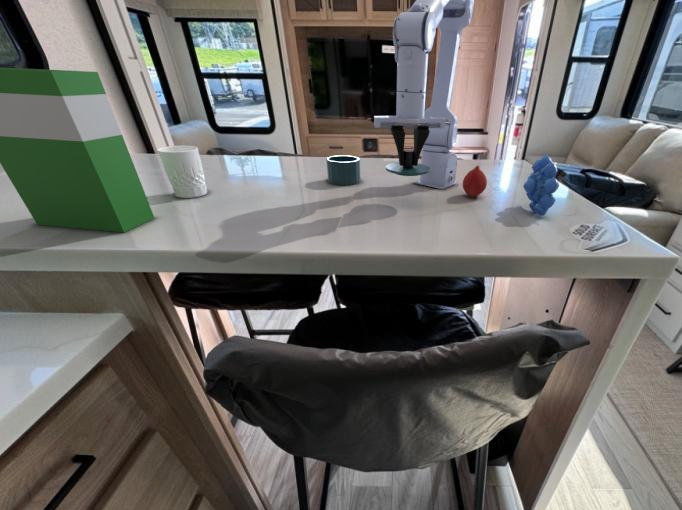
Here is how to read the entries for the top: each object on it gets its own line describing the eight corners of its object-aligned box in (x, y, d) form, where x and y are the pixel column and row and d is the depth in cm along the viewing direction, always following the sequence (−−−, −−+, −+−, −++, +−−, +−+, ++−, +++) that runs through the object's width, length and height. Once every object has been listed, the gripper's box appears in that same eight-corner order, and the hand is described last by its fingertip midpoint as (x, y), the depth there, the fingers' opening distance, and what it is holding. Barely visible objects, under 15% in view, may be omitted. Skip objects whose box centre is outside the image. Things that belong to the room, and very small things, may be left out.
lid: (428, 168, 78) (430, 147, 76) (431, 179, 70) (433, 156, 67) (386, 166, 78) (387, 145, 76) (384, 177, 70) (384, 154, 67)
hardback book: (37, 224, 62) (-58, 66, 48) (74, 211, 68) (-1, 67, 54) (124, 232, 60) (51, 71, 47) (154, 218, 66) (97, 71, 53)
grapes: (508, 203, 82) (519, 151, 75) (534, 204, 82) (548, 151, 76) (526, 221, 72) (541, 162, 65) (556, 221, 73) (574, 163, 66)
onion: (456, 196, 86) (460, 163, 81) (474, 194, 88) (479, 161, 83) (469, 203, 81) (474, 168, 77) (488, 200, 83) (494, 167, 79)
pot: (362, 177, 98) (361, 156, 94) (357, 186, 90) (357, 162, 87) (331, 176, 98) (330, 154, 94) (325, 184, 90) (323, 161, 87)
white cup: (164, 196, 78) (148, 149, 72) (193, 187, 84) (180, 144, 78) (189, 201, 75) (174, 153, 70) (217, 192, 82) (205, 147, 76)
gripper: (376, 91, 61) (376, 169, 69) (452, 94, 63) (444, 169, 71) (373, 89, 67) (373, 161, 75) (443, 92, 69) (436, 161, 77)
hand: (408, 164), depth 73 cm, fingers closed on lid, 2 cm apart
